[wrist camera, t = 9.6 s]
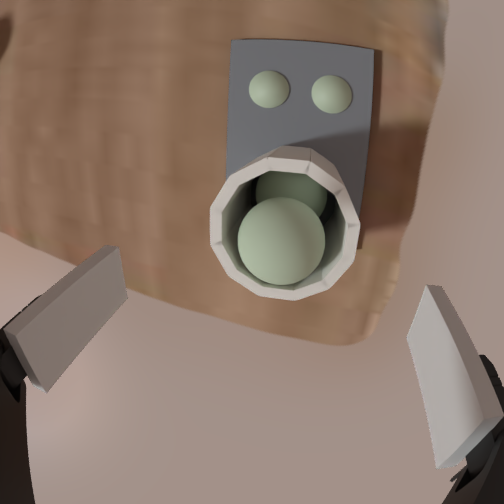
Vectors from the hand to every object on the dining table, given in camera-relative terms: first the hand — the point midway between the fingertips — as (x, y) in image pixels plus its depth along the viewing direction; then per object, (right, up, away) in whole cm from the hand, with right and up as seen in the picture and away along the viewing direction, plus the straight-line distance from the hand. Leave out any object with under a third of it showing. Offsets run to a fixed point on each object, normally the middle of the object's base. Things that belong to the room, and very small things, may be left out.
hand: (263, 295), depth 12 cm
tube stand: (+4, +12, +15) cm, 19 cm away
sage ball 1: (+3, +7, +13) cm, 15 cm away
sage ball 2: (+2, +3, +9) cm, 9 cm away
